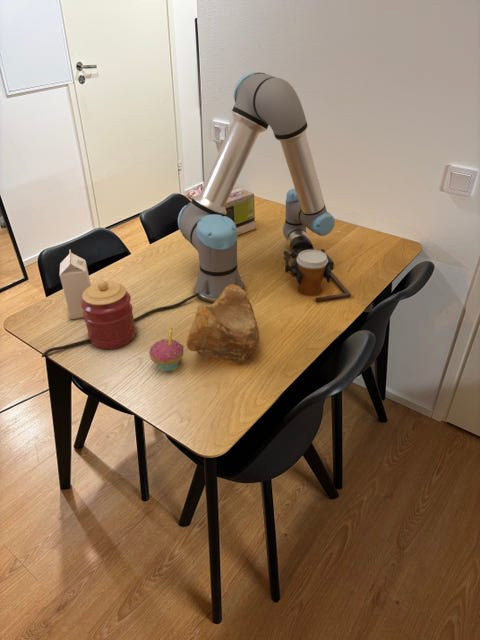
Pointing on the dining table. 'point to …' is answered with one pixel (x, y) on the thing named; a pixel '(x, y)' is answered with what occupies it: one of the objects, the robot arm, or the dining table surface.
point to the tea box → (241, 210)
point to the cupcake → (166, 353)
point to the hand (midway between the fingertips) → (314, 279)
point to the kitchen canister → (108, 314)
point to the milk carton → (74, 283)
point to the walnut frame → (338, 296)
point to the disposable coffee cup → (311, 270)
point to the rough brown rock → (225, 327)
